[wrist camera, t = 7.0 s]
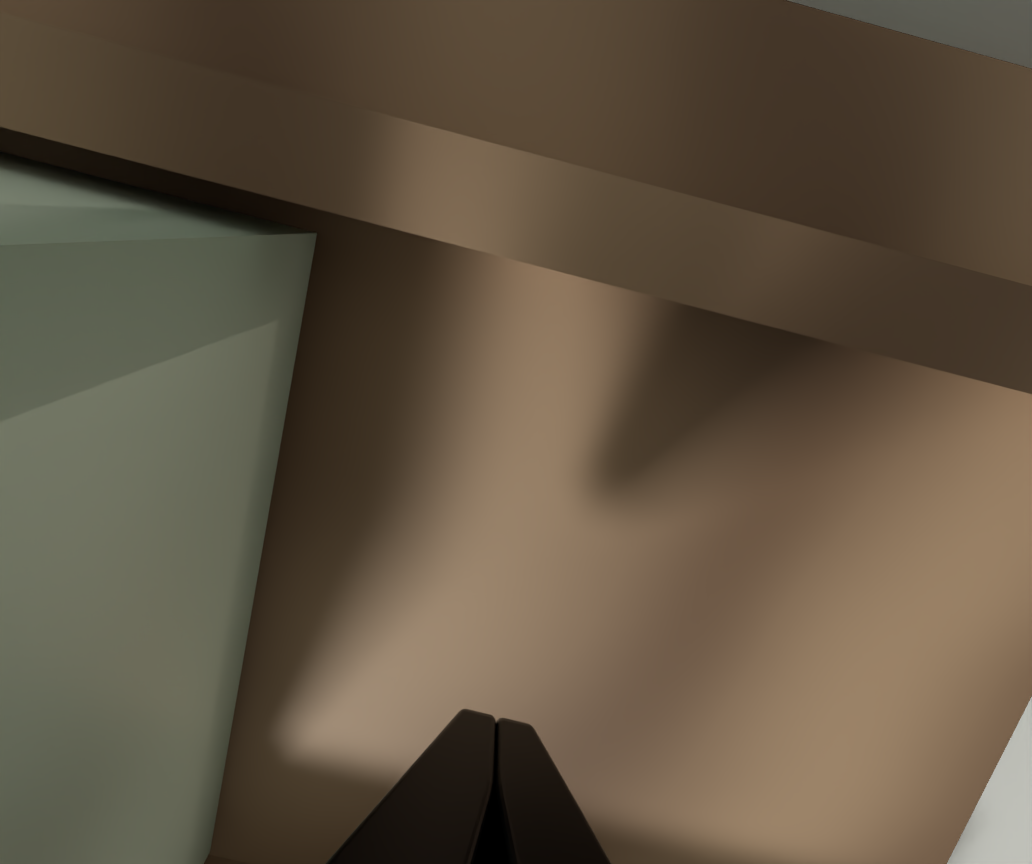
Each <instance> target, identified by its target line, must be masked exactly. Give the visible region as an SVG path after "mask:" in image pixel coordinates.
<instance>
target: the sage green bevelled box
mask: <svg viewBox="0 0 1032 864" xmlns="http://www.w3.org/2000/svg"><path fill="white" fill-rule="evenodd" d="M316 236H317V233H315V232H311V231H307V230H303V229H299V228H295V227H291V226H288V225H284V224H280V223H276V222H272V221H268V220H264V219H260V218H257V217H253V216H249V215H245V214H241V213H237V212H233V211H229V210H226V209H222V208H218V207H214V206H210V205H206V204H202V203H198V202H195V201H191V200H187V199H183V198H179V197H175V196H171V195H167V194H164V193H160V192H156V191H152V190H148V189H144V188H140V187H136V186H133V185H129V184H125V183H121V182H117V181H113V180H109V179H105V178H101V177H98V176H94V175H90V174H86V173H82V172H78V171H74V170H70V169H67V168H63V167H59V166H55V165H51V164H47V163H43V162H39V161H36V160H32V159H28V158H24V157H20V156H16V155H12V154H8V153H5V152H1V151H0V864H204V862H205V860H206V858H207V856H208V854H209V853H210V849H211V843H212V837H213V832H214V826H215V820H216V814H217V808H218V803H219V797H220V791H221V785H222V780H223V774H224V768H225V762H226V756H227V751H228V745H229V739H230V733H231V728H232V722H233V716H234V710H235V704H236V699H237V693H238V687H239V681H240V676H241V670H242V664H243V658H244V652H245V647H246V641H247V635H248V629H249V624H250V618H251V612H252V606H253V600H254V595H255V589H256V583H257V577H258V572H259V566H260V560H261V554H262V548H263V543H264V537H265V531H266V525H267V520H268V514H269V508H270V502H271V496H272V491H273V485H274V479H275V473H276V468H277V462H278V456H279V450H280V444H281V439H282V433H283V427H284V421H285V416H286V410H287V404H288V398H289V392H290V387H291V381H292V375H293V369H294V364H295V358H296V352H297V346H298V340H299V335H300V329H301V323H302V317H303V312H304V306H305V300H306V294H307V288H308V283H309V277H310V271H311V265H312V260H313V254H314V248H315V242H316Z"/></svg>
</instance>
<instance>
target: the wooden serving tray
mask: <svg viewBox="0 0 1032 864" xmlns="http://www.w3.org/2000/svg"><path fill="white" fill-rule="evenodd" d="M0 151H1V152H5V153H8V154H12V155H16V156H20V157H24V158H28V159H32V160H36V161H39V162H43V163H47V164H51V165H55V166H59V167H63V168H67V169H70V170H74V171H78V172H82V173H86V174H90V175H94V176H98V177H101V178H105V179H109V180H113V181H117V182H121V183H125V184H129V185H133V186H136V187H140V188H144V189H148V190H152V191H156V192H160V193H164V194H167V195H171V196H175V197H179V198H183V199H187V200H191V201H195V202H198V203H202V204H206V205H210V206H214V207H218V208H222V209H226V210H229V211H233V212H237V213H241V214H245V215H249V216H253V217H257V218H260V219H264V220H268V221H272V222H276V223H280V224H284V225H288V226H291V227H295V228H299V229H303V230H307V231H311V232H315V233H317V236H316V242H315V248H314V254H313V260H312V265H311V271H310V277H309V283H308V288H307V294H306V300H305V306H304V312H303V317H302V323H301V329H300V335H299V340H298V346H297V352H296V358H295V364H294V369H293V375H292V381H291V387H290V392H289V398H288V404H287V410H286V416H285V421H284V427H283V433H282V439H281V444H280V450H279V456H278V462H277V468H276V473H275V479H274V485H273V491H272V496H271V502H270V508H269V514H268V520H267V525H266V531H265V537H264V543H263V548H262V554H261V560H260V566H259V572H258V577H257V583H256V589H255V595H254V600H253V606H252V612H251V618H250V624H249V629H248V635H247V641H246V647H245V652H244V658H243V664H242V670H241V676H240V681H239V687H238V693H237V699H236V704H235V710H234V716H233V722H232V728H231V733H230V739H229V745H228V751H227V756H226V762H225V768H224V774H223V780H222V785H221V791H220V797H219V803H218V808H217V814H216V820H215V826H214V832H213V837H212V843H211V849H210V853H209V854H208V856H207V858H206V860H205V862H204V864H325V863H326V862H327V861H328V860H329V859H330V857H331V856H332V855H333V854H334V853H335V852H336V851H337V849H338V848H339V847H340V846H341V845H342V844H343V843H344V841H345V840H346V839H347V838H348V837H349V836H350V835H351V834H352V832H353V831H354V830H355V829H356V828H357V827H358V826H359V824H360V823H361V822H362V821H363V820H364V819H365V818H366V817H367V815H368V814H369V813H370V812H371V811H372V810H373V809H374V807H375V806H376V805H377V804H378V803H379V802H380V801H381V799H382V798H383V797H384V796H385V795H386V794H387V793H388V792H389V790H390V789H391V788H392V787H393V786H394V785H395V784H396V782H397V781H398V780H399V779H400V778H401V777H402V776H403V774H404V773H405V772H406V771H407V770H408V769H409V768H410V767H411V765H412V764H413V763H414V762H415V761H416V760H417V759H418V757H419V756H420V755H421V754H422V753H423V752H424V751H425V749H426V748H427V747H428V746H429V745H430V744H431V743H432V742H433V740H434V739H435V738H436V737H437V736H438V735H439V734H440V732H441V731H442V730H443V729H444V728H445V727H446V726H447V724H448V723H449V722H450V721H451V720H452V719H453V718H454V717H455V715H456V714H457V713H458V712H459V711H460V710H462V709H470V710H474V711H478V712H482V713H486V714H490V715H493V717H494V718H495V720H496V721H497V720H498V719H499V718H507V719H512V720H516V721H520V722H524V723H528V724H530V725H532V726H533V727H534V729H535V731H536V732H537V734H538V736H539V737H540V739H541V741H542V743H543V744H544V746H545V748H546V750H547V751H548V753H549V755H550V757H551V758H552V760H553V762H554V764H555V765H556V767H557V769H558V771H559V772H560V774H561V776H562V777H563V779H564V781H565V783H566V784H567V786H568V788H569V790H570V791H571V793H572V795H573V797H574V798H575V800H576V802H577V804H578V805H579V807H580V809H581V811H582V812H583V814H584V816H585V818H586V819H587V821H588V823H589V824H590V826H591V828H592V830H593V831H594V833H595V835H596V837H597V838H598V840H599V842H600V844H601V845H602V847H603V849H604V851H605V852H606V854H607V856H608V858H609V859H610V861H611V863H612V864H947V862H948V860H949V858H950V856H951V854H952V852H953V850H954V848H955V846H956V844H957V842H958V840H959V838H960V836H961V834H962V832H963V830H964V828H965V826H966V824H967V823H968V821H969V819H970V817H971V815H972V813H973V811H974V809H975V807H976V805H977V803H978V801H979V799H980V797H981V795H982V793H983V791H984V789H985V787H986V785H987V783H988V781H989V779H990V777H991V775H992V773H993V771H994V769H995V767H996V765H997V763H998V762H999V760H1000V758H1001V756H1002V754H1003V752H1004V750H1005V748H1006V746H1007V744H1008V742H1009V740H1010V738H1011V736H1012V734H1013V732H1014V730H1015V728H1016V726H1017V724H1018V722H1019V720H1020V718H1021V716H1022V714H1023V712H1024V710H1025V708H1026V706H1027V704H1028V702H1029V701H1030V699H1031V697H1032V69H1031V68H1027V67H1024V66H1020V65H1017V64H1013V63H1009V62H1006V61H1002V60H999V59H995V58H991V57H988V56H984V55H981V54H977V53H973V52H970V51H966V50H963V49H959V48H955V47H952V46H948V45H945V44H941V43H937V42H934V41H930V40H927V39H923V38H919V37H916V36H912V35H909V34H905V33H902V32H898V31H894V30H891V29H887V28H884V27H880V26H876V25H873V24H869V23H866V22H862V21H858V20H855V19H851V18H848V17H844V16H840V15H837V14H833V13H830V12H826V11H822V10H819V9H815V8H812V7H808V6H804V5H801V4H797V3H794V2H790V1H787V0H0Z"/></svg>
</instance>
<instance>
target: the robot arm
mask: <svg viewBox="0 0 1032 864" xmlns="http://www.w3.org/2000/svg"><path fill="white" fill-rule="evenodd" d="M325 864H612V863H611V861H610V859H609V858H608V856H607V854H606V852H605V851H604V849H603V847H602V845H601V844H600V842H599V840H598V838H597V837H596V835H595V833H594V831H593V830H592V828H591V826H590V824H589V823H588V821H587V819H586V818H585V816H584V814H583V812H582V811H581V809H580V807H579V805H578V804H577V802H576V800H575V798H574V797H573V795H572V793H571V791H570V790H569V788H568V786H567V784H566V783H565V781H564V779H563V777H562V776H561V774H560V772H559V771H558V769H557V767H556V765H555V764H554V762H553V760H552V758H551V757H550V755H549V753H548V751H547V750H546V748H545V746H544V744H543V743H542V741H541V739H540V737H539V736H538V734H537V732H536V731H535V729H534V727H533V726H532V725H530V724H528V723H524V722H520V721H516V720H512V719H507V718H499V719H498V720H497V721H496V720H495V718H494V717H493V715H490V714H486V713H482V712H478V711H474V710H470V709H462V710H460V711H459V712H458V713H457V714H456V715H455V717H454V718H453V719H452V720H451V721H450V722H449V723H448V724H447V726H446V727H445V728H444V729H443V730H442V731H441V732H440V734H439V735H438V736H437V737H436V738H435V739H434V740H433V742H432V743H431V744H430V745H429V746H428V747H427V748H426V749H425V751H424V752H423V753H422V754H421V755H420V756H419V757H418V759H417V760H416V761H415V762H414V763H413V764H412V765H411V767H410V768H409V769H408V770H407V771H406V772H405V773H404V774H403V776H402V777H401V778H400V779H399V780H398V781H397V782H396V784H395V785H394V786H393V787H392V788H391V789H390V790H389V792H388V793H387V794H386V795H385V796H384V797H383V798H382V799H381V801H380V802H379V803H378V804H377V805H376V806H375V807H374V809H373V810H372V811H371V812H370V813H369V814H368V815H367V817H366V818H365V819H364V820H363V821H362V822H361V823H360V824H359V826H358V827H357V828H356V829H355V830H354V831H353V832H352V834H351V835H350V836H349V837H348V838H347V839H346V840H345V841H344V843H343V844H342V845H341V846H340V847H339V848H338V849H337V851H336V852H335V853H334V854H333V855H332V856H331V857H330V859H329V860H328V861H327V862H326V863H325Z"/></svg>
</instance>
